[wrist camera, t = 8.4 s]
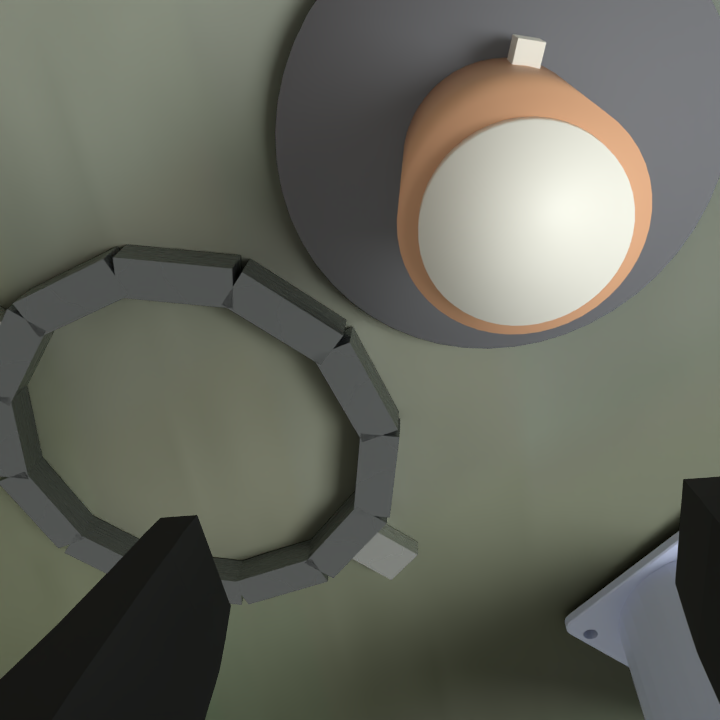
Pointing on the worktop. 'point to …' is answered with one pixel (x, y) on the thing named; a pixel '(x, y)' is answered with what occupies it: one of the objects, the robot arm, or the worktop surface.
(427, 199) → the pill bottle
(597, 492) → the worktop surface
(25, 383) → the collar
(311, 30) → the mat
